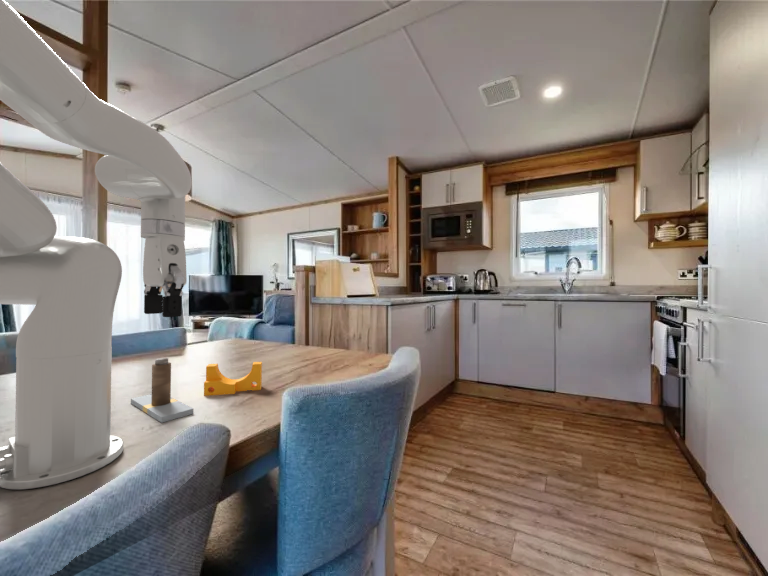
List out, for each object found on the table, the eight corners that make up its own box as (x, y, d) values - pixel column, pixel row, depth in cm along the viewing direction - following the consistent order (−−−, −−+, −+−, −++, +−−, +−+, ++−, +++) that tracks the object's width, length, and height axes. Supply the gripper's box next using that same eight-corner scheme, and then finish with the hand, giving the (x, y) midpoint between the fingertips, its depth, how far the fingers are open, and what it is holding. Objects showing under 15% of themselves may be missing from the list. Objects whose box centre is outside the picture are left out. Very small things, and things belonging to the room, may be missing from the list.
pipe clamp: (203, 396, 74) (204, 368, 74) (208, 390, 78) (209, 364, 78) (259, 392, 77) (260, 365, 77) (261, 387, 82) (261, 361, 82)
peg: (155, 407, 64) (156, 361, 64) (148, 403, 66) (149, 359, 66) (173, 402, 67) (174, 358, 67) (166, 399, 68) (167, 356, 68)
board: (161, 422, 59) (161, 417, 59) (130, 403, 69) (130, 398, 69) (193, 413, 64) (193, 408, 64) (160, 396, 73) (160, 392, 73)
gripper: (202, 230, 65) (201, 316, 65) (167, 237, 75) (166, 311, 75) (158, 224, 59) (157, 319, 59) (127, 232, 69) (126, 313, 69)
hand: (162, 315), depth 67 cm, fingers open, 9 cm apart
